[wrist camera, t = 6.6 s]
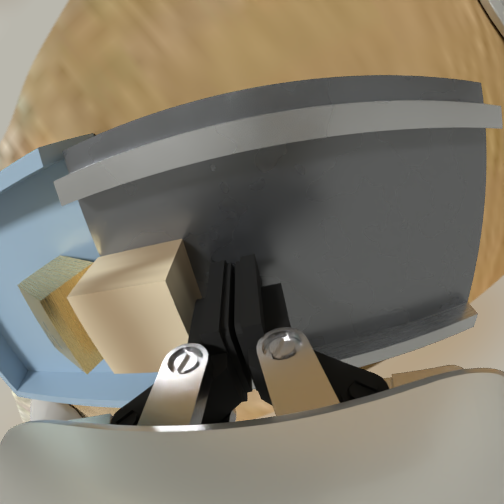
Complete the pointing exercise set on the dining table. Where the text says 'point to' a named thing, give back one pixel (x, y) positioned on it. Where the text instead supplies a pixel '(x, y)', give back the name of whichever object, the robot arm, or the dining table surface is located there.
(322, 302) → the slot block
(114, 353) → the beige square block
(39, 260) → the tray
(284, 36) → the dining table surface
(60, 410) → the flask
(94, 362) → the olive yellow block
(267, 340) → the robot arm
